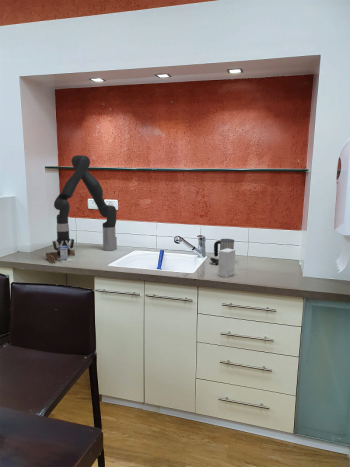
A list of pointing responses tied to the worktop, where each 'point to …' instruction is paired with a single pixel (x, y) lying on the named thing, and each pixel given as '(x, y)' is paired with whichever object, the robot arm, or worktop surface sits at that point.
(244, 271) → the worktop surface
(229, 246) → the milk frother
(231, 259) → the skincare box
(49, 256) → the brown piece
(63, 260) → the pad
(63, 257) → the medicine box
